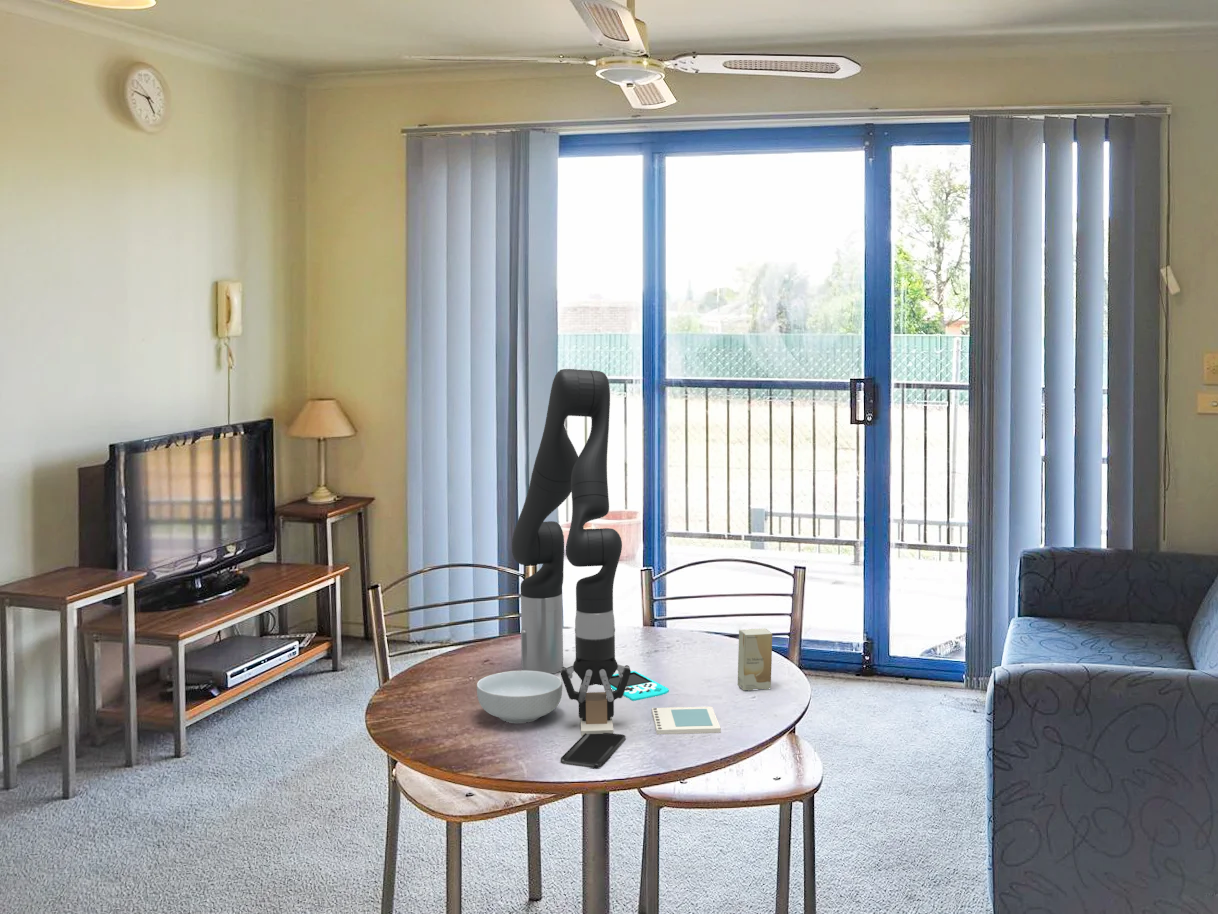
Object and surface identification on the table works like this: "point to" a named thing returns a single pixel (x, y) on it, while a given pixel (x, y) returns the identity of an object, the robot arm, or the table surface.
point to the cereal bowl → (519, 695)
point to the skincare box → (754, 659)
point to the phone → (593, 750)
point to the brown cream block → (596, 715)
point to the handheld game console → (639, 686)
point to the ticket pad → (685, 720)
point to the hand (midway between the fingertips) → (596, 718)
